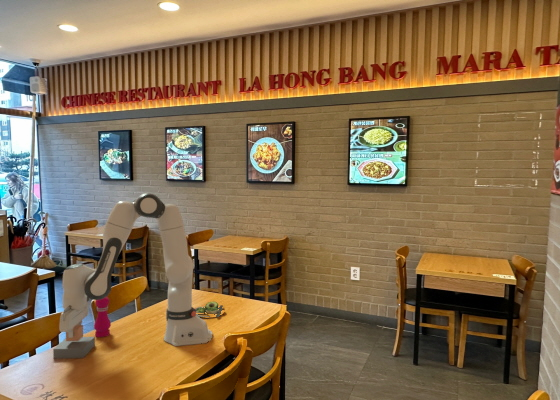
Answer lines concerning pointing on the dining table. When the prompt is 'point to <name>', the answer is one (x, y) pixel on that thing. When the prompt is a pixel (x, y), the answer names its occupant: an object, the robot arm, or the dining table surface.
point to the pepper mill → (102, 318)
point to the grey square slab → (74, 348)
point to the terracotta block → (76, 333)
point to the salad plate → (210, 309)
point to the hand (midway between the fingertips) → (74, 333)
